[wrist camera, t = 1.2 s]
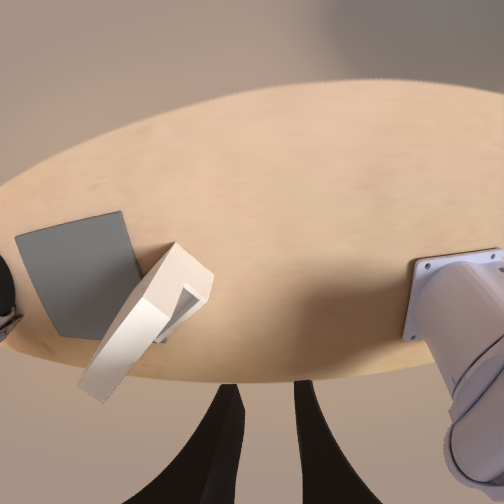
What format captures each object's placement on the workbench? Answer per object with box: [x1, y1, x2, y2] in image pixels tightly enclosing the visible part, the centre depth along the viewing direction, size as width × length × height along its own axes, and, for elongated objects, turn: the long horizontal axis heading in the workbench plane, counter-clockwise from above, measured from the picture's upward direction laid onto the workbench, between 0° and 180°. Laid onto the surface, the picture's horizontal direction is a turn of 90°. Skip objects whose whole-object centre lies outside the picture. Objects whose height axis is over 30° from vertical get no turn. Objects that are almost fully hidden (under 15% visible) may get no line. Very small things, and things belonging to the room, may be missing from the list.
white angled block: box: [77, 242, 214, 403], centre depth 18 cm, size 4×10×9 cm
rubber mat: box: [14, 211, 167, 343], centre depth 22 cm, size 14×12×1 cm
